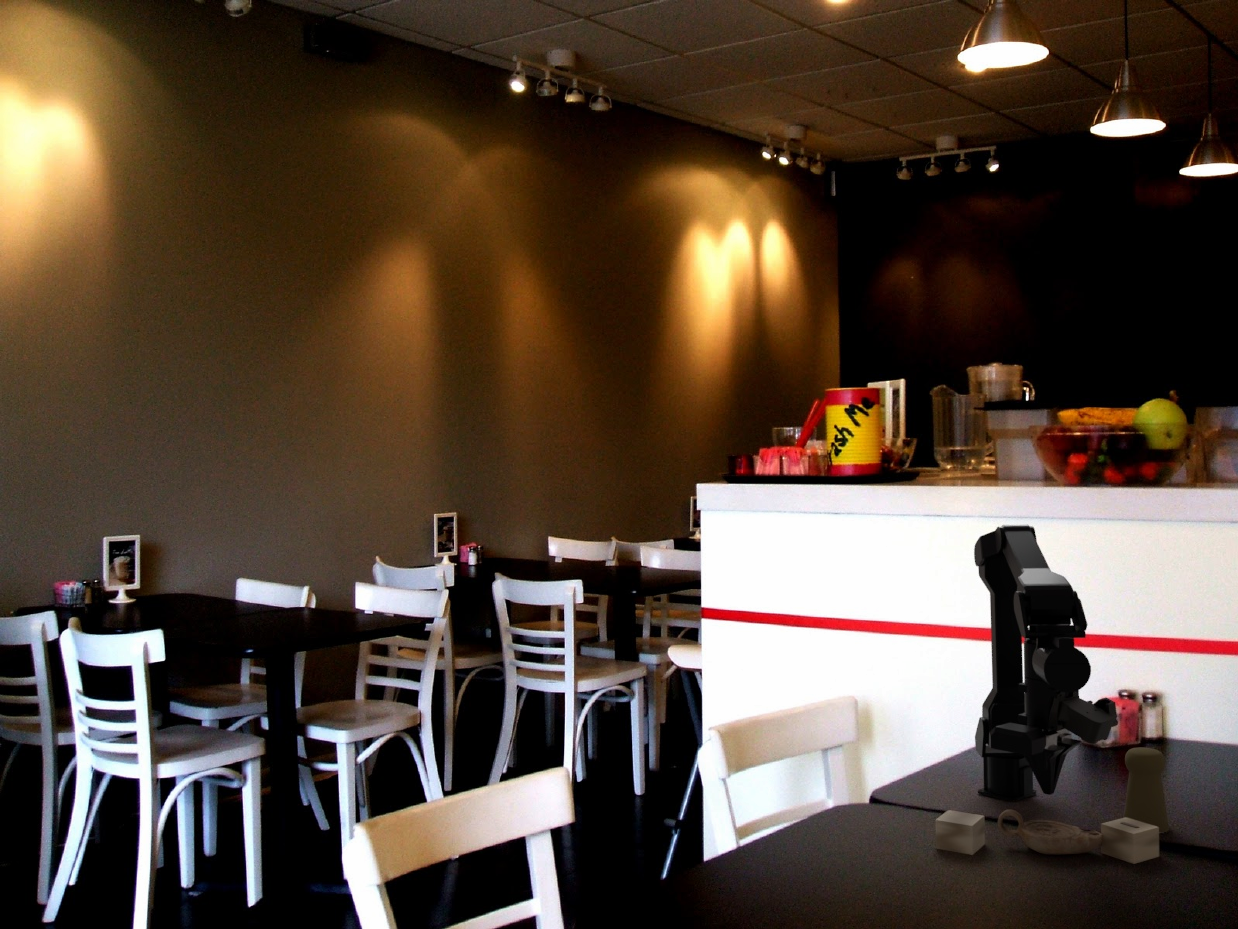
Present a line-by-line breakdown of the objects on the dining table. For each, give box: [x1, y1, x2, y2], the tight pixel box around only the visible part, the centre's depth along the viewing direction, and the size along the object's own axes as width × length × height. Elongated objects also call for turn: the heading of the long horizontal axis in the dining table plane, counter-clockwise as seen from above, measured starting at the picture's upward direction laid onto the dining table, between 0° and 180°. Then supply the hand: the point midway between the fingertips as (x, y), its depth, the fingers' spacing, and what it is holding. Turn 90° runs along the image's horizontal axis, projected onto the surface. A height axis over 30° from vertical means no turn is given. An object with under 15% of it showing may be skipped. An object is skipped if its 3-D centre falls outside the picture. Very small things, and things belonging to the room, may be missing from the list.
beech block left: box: [935, 809, 986, 856], centre depth 167 cm, size 5×5×4 cm
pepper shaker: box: [1123, 746, 1170, 833], centre depth 173 cm, size 6×6×11 cm
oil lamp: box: [997, 809, 1103, 856], centre depth 164 cm, size 13×8×5 cm, turn 65°
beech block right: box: [1100, 817, 1160, 865], centre depth 162 cm, size 5×5×4 cm
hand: (1048, 794), depth 164 cm, fingers closed
